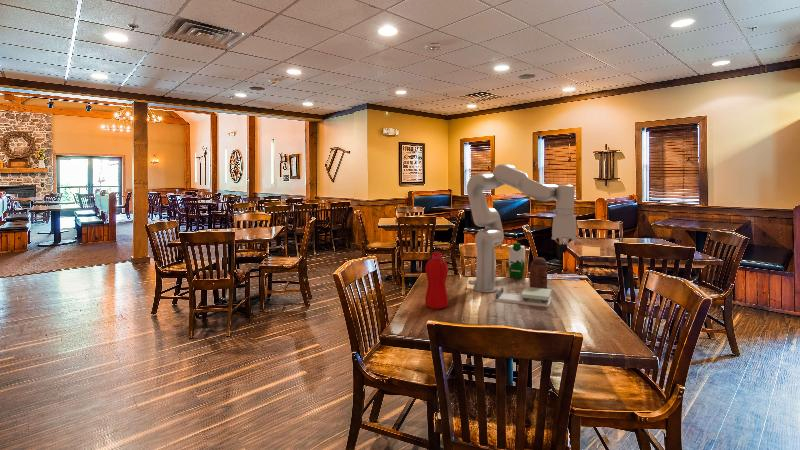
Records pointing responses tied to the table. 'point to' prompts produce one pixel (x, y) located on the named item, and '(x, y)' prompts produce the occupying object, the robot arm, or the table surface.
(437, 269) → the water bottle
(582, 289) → the table surface
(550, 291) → the pale green flat box
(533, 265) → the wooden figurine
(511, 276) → the milk carton
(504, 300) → the rail track
